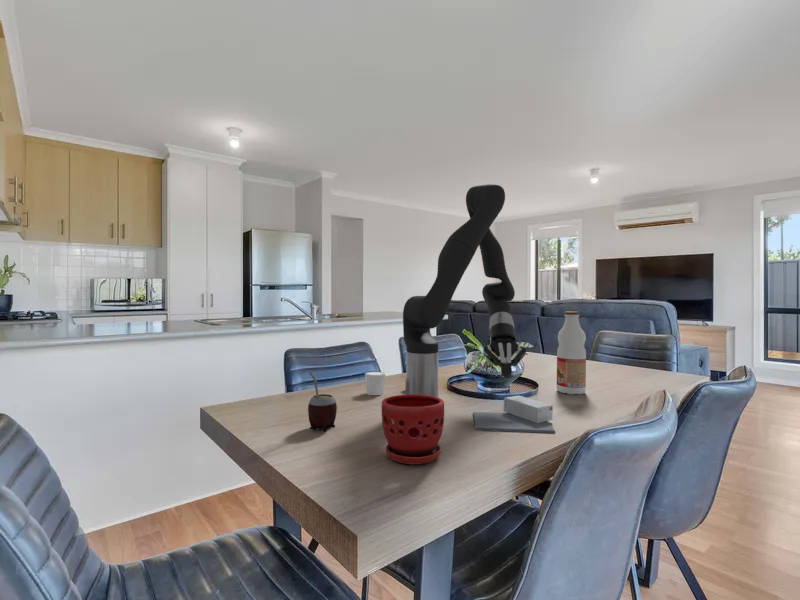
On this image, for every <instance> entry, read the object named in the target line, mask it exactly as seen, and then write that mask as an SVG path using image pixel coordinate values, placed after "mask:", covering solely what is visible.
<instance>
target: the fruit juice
mask: <svg viewBox="0 0 800 600" xmlns="http://www.w3.org/2000/svg"><path fill="white" fill-rule="evenodd" d="M564 317H565V318H564V322H563V326H562V327H561V329H560V330H559V331H558V334H557V341H558V347H557V351H556V390H557V392H558V391H559V393H561V394H565V393H567V394H566V395H574V394H578V395H584V394H586V389H587V388H586V387H587V386H586V385H587V382H586V381H587V379H586V377H587V350H586V348H585V343H586V340H587V336H586V333H585V331H584V330H583V329H582V327H581V325H580V320H579V319H580V318H579V317H580V311H578V310H577V311H575V310H572V311H570V310H568V311H567V310H566V311H564Z"/></svg>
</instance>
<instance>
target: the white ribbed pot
mask: <svg viewBox="0 0 800 600" xmlns="http://www.w3.org/2000/svg"><path fill="white" fill-rule="evenodd" d="M385 375H386V373H385V372H382V371H368V372H364V376H365V377H364V378H365V390H366V391H365V392H366V395H367V394H369V395H368V396H370V395H380V396H383V395H384V389H385V380H386V379H385V377H386V376H385ZM382 394H383V395H382Z"/></svg>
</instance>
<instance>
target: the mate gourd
mask: <svg viewBox="0 0 800 600" xmlns="http://www.w3.org/2000/svg"><path fill="white" fill-rule="evenodd" d="M309 376H311V377H312V381H313V384H314V389H315V395H313V396H312V397H311V398H310V399H309V401H308V406H307V412H308V413H307V415H308V421H309V425H310V427H309V430H310V429H315V430H321V431H322V432H323V433H327V429H330V427H333V428H335V427H336V425H335V420H336V417H337V411H338V405H337V401H336V398H335V397H334V395H331V394H324V393H323V394H321V393H320V394H319V390H318V381H317V378H316V377H315V375H314V374H313V373H312V372H309Z"/></svg>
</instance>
